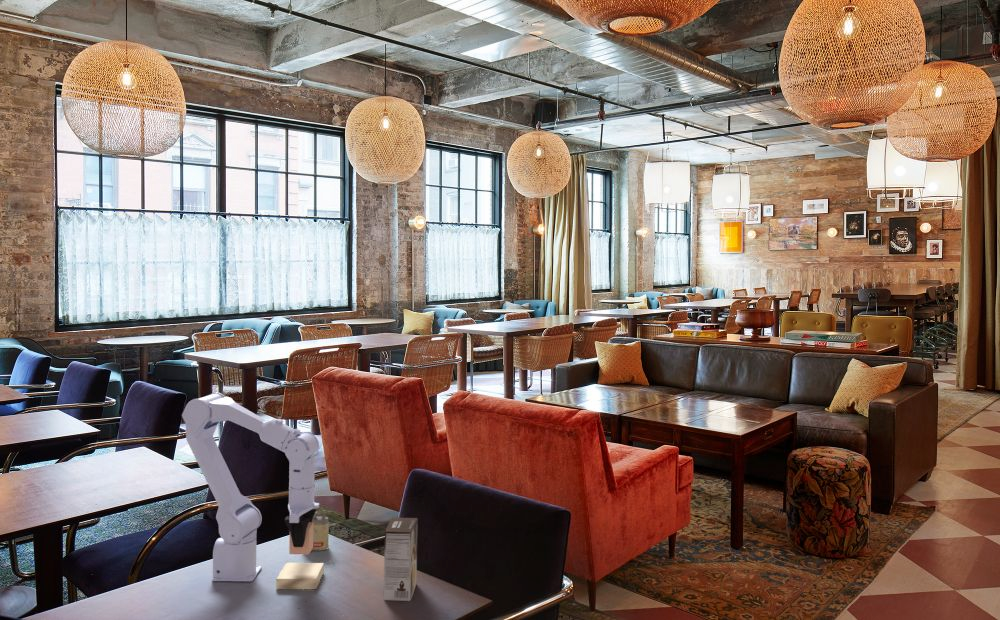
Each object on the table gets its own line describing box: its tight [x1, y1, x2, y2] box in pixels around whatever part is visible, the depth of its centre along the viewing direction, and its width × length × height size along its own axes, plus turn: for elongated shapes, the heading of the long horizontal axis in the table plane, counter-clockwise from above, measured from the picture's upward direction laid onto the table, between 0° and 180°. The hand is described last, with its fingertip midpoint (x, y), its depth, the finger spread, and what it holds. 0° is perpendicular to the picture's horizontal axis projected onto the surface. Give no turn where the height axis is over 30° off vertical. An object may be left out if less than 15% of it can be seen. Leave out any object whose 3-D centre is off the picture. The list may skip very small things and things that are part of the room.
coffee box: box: [383, 517, 419, 602], centre depth 169 cm, size 9×6×16 cm
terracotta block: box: [288, 522, 314, 555], centre depth 173 cm, size 4×4×6 cm
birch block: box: [275, 562, 325, 591], centre depth 173 cm, size 9×9×3 cm
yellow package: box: [311, 509, 330, 551], centre depth 193 cm, size 7×4×10 cm, turn 97°
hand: (301, 542), depth 173 cm, fingers closed on terracotta block, 4 cm apart
